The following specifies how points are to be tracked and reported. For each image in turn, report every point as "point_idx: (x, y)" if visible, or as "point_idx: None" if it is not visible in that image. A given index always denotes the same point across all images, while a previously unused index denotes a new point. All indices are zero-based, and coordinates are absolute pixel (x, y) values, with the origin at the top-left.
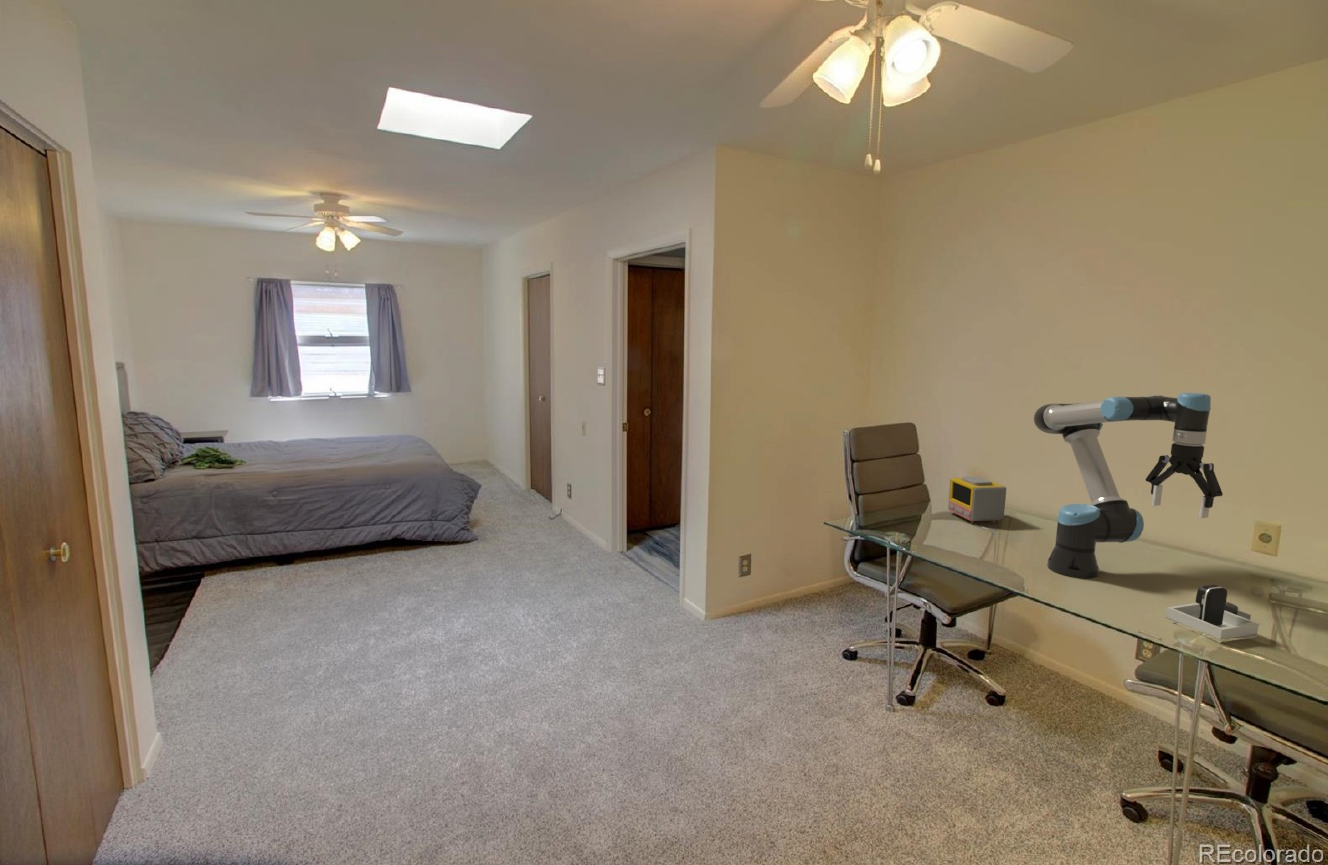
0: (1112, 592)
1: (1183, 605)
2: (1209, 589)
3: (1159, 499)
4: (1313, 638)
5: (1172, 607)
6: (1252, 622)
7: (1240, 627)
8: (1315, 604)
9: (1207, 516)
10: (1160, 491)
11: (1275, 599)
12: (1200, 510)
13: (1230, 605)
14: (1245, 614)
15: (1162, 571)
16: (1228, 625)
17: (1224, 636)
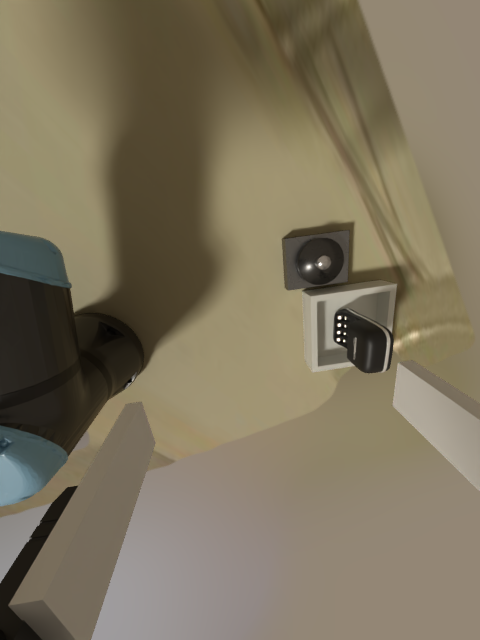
0: (204, 358)
1: (313, 342)
2: (384, 370)
3: (131, 446)
4: (416, 184)
5: (314, 364)
6: (391, 291)
7: (391, 323)
8: None
9: (416, 367)
10: (98, 519)
11: (280, 19)
12: (432, 437)
13: (328, 249)
14: (345, 238)
15: (93, 148)
16: (352, 297)
17: None
